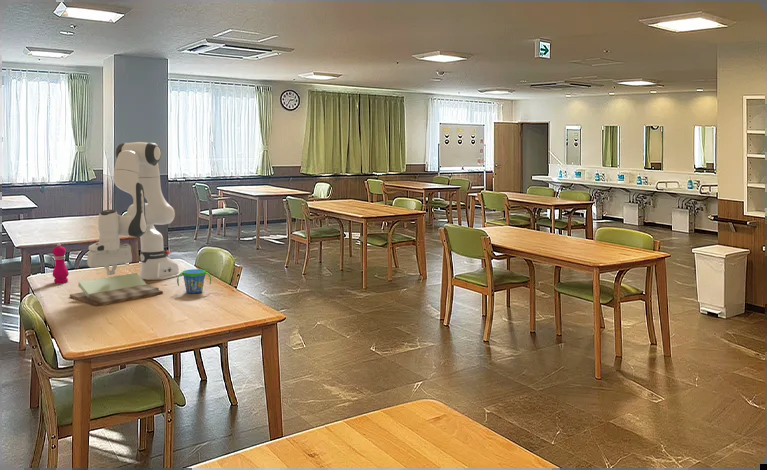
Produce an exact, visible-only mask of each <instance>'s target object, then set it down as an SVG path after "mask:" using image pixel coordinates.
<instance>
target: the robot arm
mask: <svg viewBox="0 0 767 470" xmlns="http://www.w3.org/2000/svg"><path fill="white" fill-rule="evenodd" d="M161 157H162V149H161V147H160V146H159V145H158V144H157V143H155V142H143V141H136V142H135V141H134V142H123V143H119V144H118V145H117V146H116V148H115V158H116V160H115V165H114V170H113V179H112V180H113V183H114V185H115V187H117V188H118V189H120V191H122V192H125V193H127V194H129V195H131V197H132V200H133V201H132V202H133V203H131V205H129V206H128V208H127V210H126V215H121V214H118V212H117V210H115V209H104V210H102V211H100V212H99V214H98V221H97V224H98V227H97V228H98V232H99V238H98V241H96V242H95V243H92V244H90V245H88V252H87V261H86V262H87V263H86V264H87V266H88V267H89V268H92V269H94V268H100V267H104V269H105V271H106V274H107V275H108V276H112V275H115V273H116V269H117V267H118V265H122V264H129V263H132V261H133V255H132V246H131V245H130V244H129V243H127V242H126V243H120V242H121V240H120V239H121V238H120V237H131V238H132V237H133V238H140V239H139V240H140V254H139V255H140V257H139V258H140V271H139V276H140V277H141V279H142V280H148V281H149V280H151V281H152V280H166V279H172V278H176V277H178V275H179V274H180V273H182V272H183V271H181V270H180V269H179V268H180V267H179V265H178V263H177V262H176V261H175V260H173V259H171V258H170V257H169V256H168V255H171V253H172V252H171V251H170V250H165V249H164V237H163V234H162V233H161V232H160V231H158V229H156V227H155V225H161V226H163V225H170V224H171V223H172V222H173V221H174V219H175V217H176V211H175V209H174V207H173V206H171V205H170V204H169V203H168V201H167V200H166V199H165V196H164V194H163V192H162V187H161V186H162V185H161V173H160V169H159V168H160V167H159V162H160V160H161ZM145 200H146V201H145ZM110 266H111V267H112V268H111V270H110V269H109V268H110ZM180 276H183V275H182V274H181V275H180ZM180 276H179V277H180Z"/></svg>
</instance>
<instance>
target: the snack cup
mask: <svg viewBox="0 0 767 470" xmlns="http://www.w3.org/2000/svg"><path fill="white" fill-rule="evenodd" d="M181 272H182V273H180V274H179V275H178V276H177V279H176V282H177V283H176V284H177V286H180V283H179V280H180V279H179V277H180V275H181V274H182V275H181V276H183V281H184V282H183V283H184V287H185V291H186V293H187V294H199V293H202V292H203V291H204V284H205V283H204V282H205V279H206V278H205V277H206V275H208V277H209V285H212V284H211V283H212V276H211V274H210V273H209V272H208V271H206V270H205V269H198V268H197V269H185V270H182V271H181Z"/></svg>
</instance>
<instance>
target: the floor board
mask: <svg viewBox="0 0 767 470" xmlns="http://www.w3.org/2000/svg"><path fill="white" fill-rule="evenodd" d="M162 294H164V293H163V290H160V288H159V287H157V286H154V285H150V284H147V285H142V286H136V287H130V288H124V289H118V290H113V291H107V292H101V293H95V294H89V298H88V297H87V296H86V295H85V293H84V292H83V291H81V292H76V293H70V294H69V297H70V298H71V297H72V298H71V299H74V298H75V300H77V299H78V300H77V301H80V300H81V301H80V302H83V303H85V304H89V305H92V306H95V307H99V306H104V305H109V304H115V303H120V302H126V301H130V300H136V299H142V298H146V297H153V296H158V295H162Z"/></svg>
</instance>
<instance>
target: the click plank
mask: <svg viewBox="0 0 767 470" xmlns="http://www.w3.org/2000/svg"><path fill="white" fill-rule="evenodd" d="M142 285H148V284H147V282H145V280H144V279H141V277H140V274H138V273H137V272H135V273H134V272H133V273H130V274H129V273H128V274H127V273H126V274H123V275H116V276H109V277H103V278H95V279H89V280H83V281H79V282H78V287H79V289H80V290H81V292H84V293H85V295H86V296H87V297H88V298H89V294H95V293H101V292H107V291H113V290H118V289H124V288H130V287H136V286H142Z"/></svg>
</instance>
